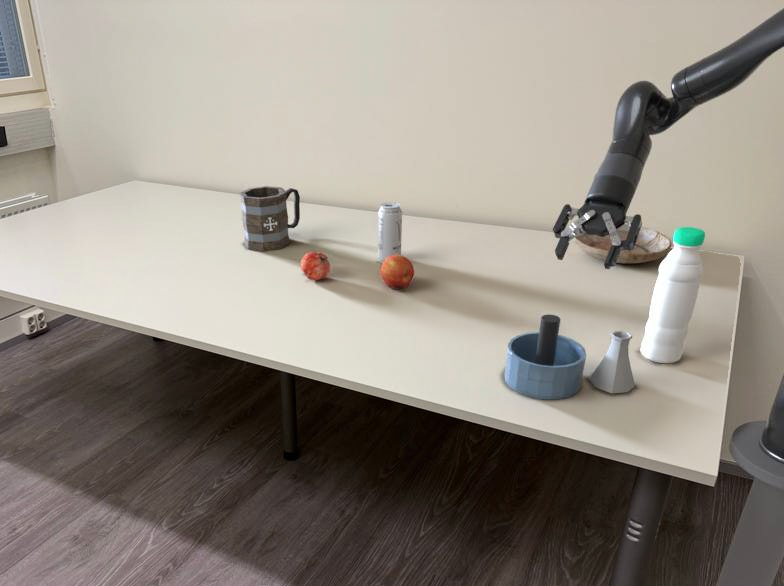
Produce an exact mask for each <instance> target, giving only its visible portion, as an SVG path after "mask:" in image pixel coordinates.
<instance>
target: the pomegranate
mask: <svg viewBox="0 0 784 586" xmlns="http://www.w3.org/2000/svg"><path fill="white" fill-rule="evenodd" d="M300 270H301V272H303V274H304V275H305V277H306V278H307V279H308V280H311V281H319V280H322V279H324V278H327V276H328V275H329V274H330V272H331V263H330V261H329V259H328V257H327V256H326V253H324V252H318V251H313V250H311V251H309V252H307V253H306V254H304V255H303V257H302V259H301V261H300Z"/></svg>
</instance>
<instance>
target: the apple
mask: <svg viewBox="0 0 784 586" xmlns="http://www.w3.org/2000/svg"><path fill="white" fill-rule="evenodd" d="M379 270H380V271H379V272H380V273H379V274H380V277H381V280H382V281H383V283H384V284H385V285H386V286H388V287H389V288H391V289H394V290H403V289H405V288H407V286H409V285H410V284H411V283H412V281H413V280H414V276H415V269H414V265H413V263H412V262H411V260H410V259H409V258H408V257H406V256H404V255H402V254H401V255H397V254H394V255H390V256H389V257H387V258H386V259H385V260H384V261H383V262H381V265H380V269H379Z"/></svg>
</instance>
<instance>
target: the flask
mask: <svg viewBox="0 0 784 586" xmlns="http://www.w3.org/2000/svg"><path fill="white" fill-rule="evenodd" d="M610 337H611V341H610V345H609V347H608V349H607V352H606V354H605V355H604V356H603V358H602V359H601V361H600V363H599V364H598V365H597V366H596V368H595V370H594V371H593V372H592V373H591V375H590V376H589V378H588V380H589V382H591V384H592V385H593V386H594V387H595V388H596V389H599V390H602V391H604V392H607V393H609V394H622V393H628V392H630V391H631V390H632V389H633V388H634V387H636V384H635V378H634V374H633V370H632V366H631V361H630V355H629V345H630V340H631V339H633V335H632V334H631V333H630V332H628V331H625V330H614V331H612V332H610Z"/></svg>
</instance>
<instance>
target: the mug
mask: <svg viewBox="0 0 784 586" xmlns="http://www.w3.org/2000/svg"><path fill="white" fill-rule="evenodd" d="M292 193H293V195H294V196H293V197H294V202H293V210H294V211H293V213H294V217H293V222H292V223H291V224H289V214H288V208H287V201H288V199H289V197H290V195H291V194H292ZM239 197H240V202H241V221H242V226H243V232H244V233H243V235H244V241H243V243H244V245H245V247H246V248H247V249H248V250H253V251H260V252H269V251H273V250H281V249H283V248H285V247H286V246H287V245H289V244H290V243H291V241H290V236H289V229H296V227H297V226H299V222H300V219H301V211H300V210H301V209H300V204H301V203H300V202H301V201H300V200H301V197H300V193H299V190H298V189H296V188H293V187H291V188H290V187H289V188H288V189H287V190H285V189H284V188H283V187H279V186H269V185H267V186H266V185H265V186H258V187H250V188H249V187H248V188H247V189H245V190H242V191H240V192H239Z"/></svg>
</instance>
